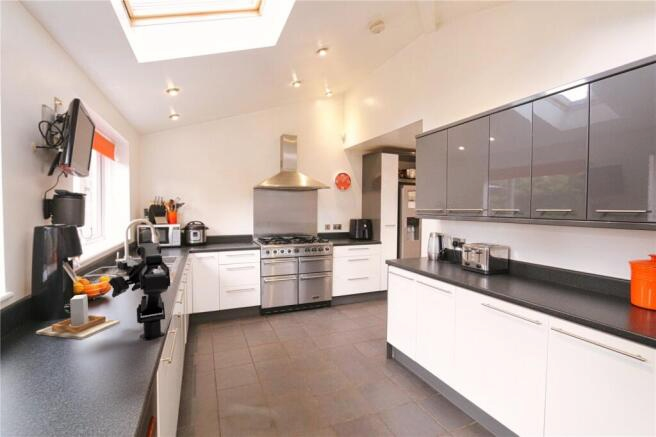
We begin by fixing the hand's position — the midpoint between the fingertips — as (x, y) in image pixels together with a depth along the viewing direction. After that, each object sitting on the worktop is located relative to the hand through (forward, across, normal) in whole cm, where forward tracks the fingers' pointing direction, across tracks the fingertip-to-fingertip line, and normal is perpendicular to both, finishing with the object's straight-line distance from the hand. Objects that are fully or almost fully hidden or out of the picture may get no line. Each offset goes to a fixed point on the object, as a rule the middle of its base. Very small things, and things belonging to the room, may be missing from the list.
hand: (122, 293), depth 127 cm
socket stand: (+20, +6, -1) cm, 21 cm away
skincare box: (+20, +6, -2) cm, 21 cm away
